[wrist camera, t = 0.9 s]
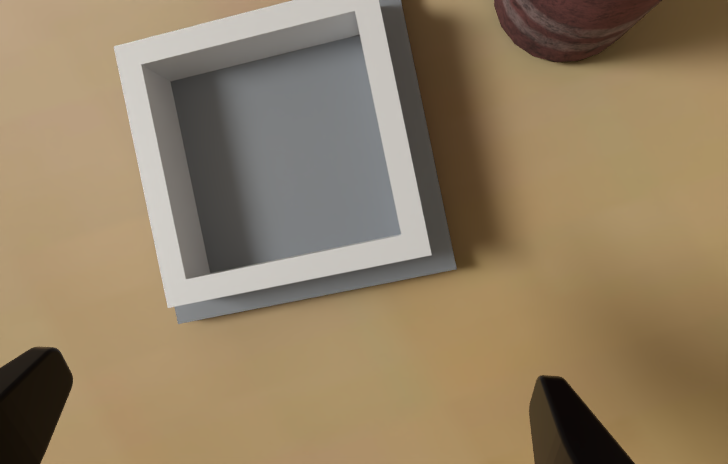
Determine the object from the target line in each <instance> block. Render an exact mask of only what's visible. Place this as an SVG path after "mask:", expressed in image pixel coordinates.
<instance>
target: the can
mask: <svg viewBox="0 0 728 464" xmlns="http://www.w3.org/2000/svg"><path fill="white" fill-rule="evenodd" d="M660 1H662V0H494V6H495V9H496V12H497V15H498V18H499V21H500V24H501V27H502V28H503V29H504V31H505V32H506V33H507V34H508V36H509V37H510V38H511V40H512V41H513V42H514V44H516V45H517V46H519V47H520V48H522V49H523V50H525V51H526V52H528V53H529V54H531V55H532V56H535V57H538V58H542V59H546V60H549V61H553V62H566V61H579V60H582V59H585V58H587V57H590V56H593V55H596V54H599V53H600V52H602V51H603V50H604V49H606V48H607V47H608V46H610V45H611V44H612V43H614V42H615V41H616V40H618V39H619V38H620V37H621V36H622V35H623V34H625V33H626V32H627V31H628V30H629V29H630V28H631V27H632V26H634V25H635V24H636V23H637V22H638V21H639V20H640V19H641V18H642V17H644V16H645V15H646V14H647V13H648V12H649V11H650V10H651V9H653V8H654V7H655V6H656V5H657V4H658V3H659V2H660Z"/></svg>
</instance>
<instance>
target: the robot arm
mask: <svg viewBox="0 0 728 464" xmlns="http://www.w3.org/2000/svg"><path fill="white" fill-rule="evenodd" d="M72 384H73V376H72V373H71V371H70V369H69V367H68V365H67V363H66V362H65V360H64V358H63V356H62V354H61V352H60V351H59V350H58V349H57V348H53V347H34V348H31V349H30V350H28V351H26V352H25V353H23V354H22V355H20V356H18V357H17V358H15V359H14V360H12V361H10V362H9V363H7V364H6V365H4V366H3V367H1V368H0V464H40V463H41V461H42V459H43V456H44V454H45V452H46V450H47V447H48V445H49V442H50V440H51V437H52V435H53V432H54V430H55V427H56V425H57V423H58V420H59V418H60V415H61V413H62V410H63V408H64V405H65V403H66V400H67V398H68V396H69V393H70V391H71V388H72ZM529 416H530V426H531V434H532V443H533V452H534V461H535V464H635V463H634V462H633V461H632V460H631V458H630V457H629V456H628V455H627V453H626V452H625V451H624V450H623V449H622V447H621V446H620V445H619V444H618V443H617V441H616V440H615V439H614V438H613V437H612V435H611V434H610V433H609V432H608V431H607V429H606V428H605V427H604V426H603V425H602V423H601V422H600V421H599V420H598V419H597V417H596V416H595V415H594V414H593V413H592V411H591V410H590V409H589V408H588V407H587V405H586V404H585V403H584V402H583V401H582V399H581V398H580V397H579V396H578V395H577V393H576V392H575V391H574V390H573V389H572V387H571V386H570V385H569V384H568V383H567V381H566V380H565V379H563V378H562V377H559V376H544V375H542V376H539V377H538V378H537V380H536V384H535V387H534V391H533V394H532V398H531V401H530V407H529Z"/></svg>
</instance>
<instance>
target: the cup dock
mask: <svg viewBox="0 0 728 464" xmlns="http://www.w3.org/2000/svg"><path fill="white" fill-rule="evenodd" d="M114 50H115V55H116V60H117V65H118V70H119V75H120V79H121V84H122V89H123V94H124V99H125V103H126V108H127V113H128V118H129V123H130V128H131V132H132V137H133V142H134V147H135V152H136V156H137V161H138V166H139V171H140V176H141V181H142V185H143V190H144V195H145V200H146V205H147V210H148V214H149V219H150V224H151V229H152V234H153V238H154V243H155V248H156V253H157V258H158V263H159V267H160V272H161V277H162V282H163V287H164V291H165V296H166V301H167V306H168V308H170V307H175V311H176V316H177V321H178V324H181V323H186V322H191V321H196V320H201V319H206V318H211V317H216V316H221V315H226V314H232V313H237V312H242V311H247V310H252V309H257V308H262V307H267V306H272V305H277V304H282V303H288V302H293V301H298V300H303V299H308V298H313V297H318V296H323V295H328V294H333V293H338V292H343V291H349V290H354V289H359V288H364V287H369V286H374V285H379V284H384V283H389V282H394V281H399V280H405V279H410V278H415V277H420V276H425V275H430V274H435V273H440V272H445V271H450V270H455V269H457V268H456V263H455V259H454V254H453V249H452V244H451V239H450V234H449V230H448V225H447V220H446V215H445V210H444V206H443V201H442V196H441V191H440V186H439V181H438V177H437V172H436V167H435V162H434V157H433V153H432V148H431V143H430V138H429V133H428V128H427V124H426V119H425V114H424V109H423V104H422V99H421V95H420V90H419V85H418V80H417V75H416V71H415V66H414V61H413V56H412V51H411V46H410V42H409V37H408V32H407V27H406V22H405V18H404V13H403V8H402V3H401V0H292V1H288V2H284V3H281V4H277V5H273V6H269V7H265V8H261V9H257V10H253V11H249V12H246V13H242V14H238V15H234V16H230V17H226V18H222V19H218V20H214V21H211V22H207V23H203V24H199V25H195V26H191V27H187V28H183V29H179V30H176V31H172V32H168V33H164V34H160V35H156V36H152V37H148V38H145V39H141V40H137V41H133V42H129V43H125V44H121V45H117V46H114Z"/></svg>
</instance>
